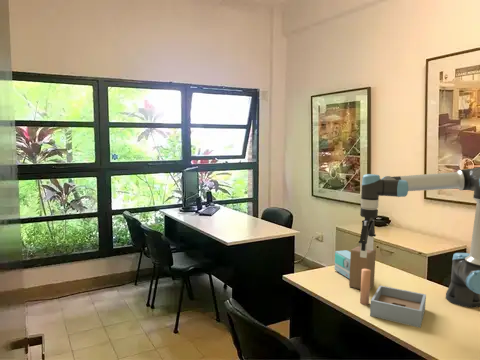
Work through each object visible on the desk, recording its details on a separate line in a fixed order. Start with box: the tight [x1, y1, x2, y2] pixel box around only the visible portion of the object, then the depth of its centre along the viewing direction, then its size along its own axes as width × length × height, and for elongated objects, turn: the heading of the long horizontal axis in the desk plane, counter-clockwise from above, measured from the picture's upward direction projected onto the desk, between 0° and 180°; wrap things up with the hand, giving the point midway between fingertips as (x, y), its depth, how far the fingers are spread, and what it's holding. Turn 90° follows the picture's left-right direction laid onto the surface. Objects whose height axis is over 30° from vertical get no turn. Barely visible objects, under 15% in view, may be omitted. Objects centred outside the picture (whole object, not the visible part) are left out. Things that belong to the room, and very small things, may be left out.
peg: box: [359, 269, 371, 306], centre depth 179 cm, size 4×4×16 cm
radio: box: [334, 243, 361, 280], centre depth 216 cm, size 16×9×20 cm, turn 17°
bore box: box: [369, 285, 427, 328], centre depth 171 cm, size 20×20×7 cm
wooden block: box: [348, 245, 377, 290], centre depth 199 cm, size 10×10×20 cm
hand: (366, 253), depth 178 cm, fingers open, 13 cm apart
